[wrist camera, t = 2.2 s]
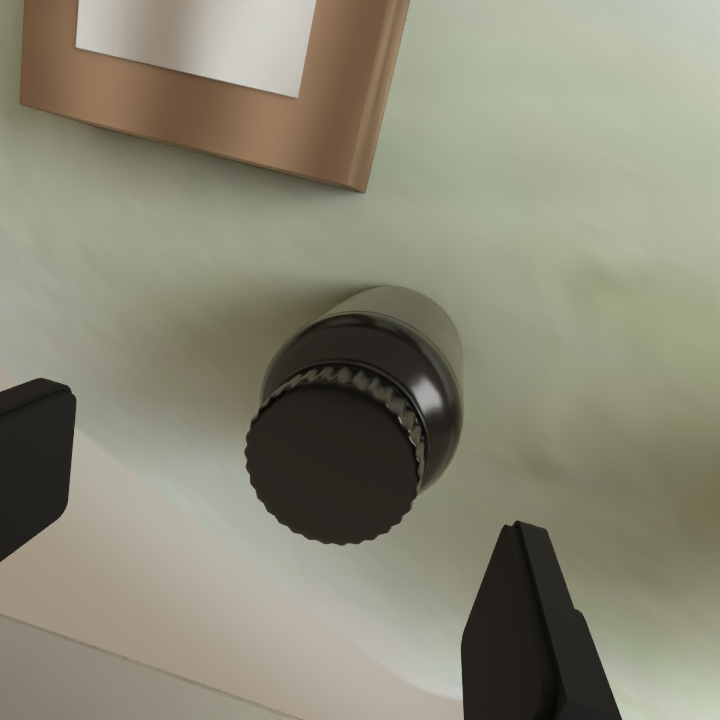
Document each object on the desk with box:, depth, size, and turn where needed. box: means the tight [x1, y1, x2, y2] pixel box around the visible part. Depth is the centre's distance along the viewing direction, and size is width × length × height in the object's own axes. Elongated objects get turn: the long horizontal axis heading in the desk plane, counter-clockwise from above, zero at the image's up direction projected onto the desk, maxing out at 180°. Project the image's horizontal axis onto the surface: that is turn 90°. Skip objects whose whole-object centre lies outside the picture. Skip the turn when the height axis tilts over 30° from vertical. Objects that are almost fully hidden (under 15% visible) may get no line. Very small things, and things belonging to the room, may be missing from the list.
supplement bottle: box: [244, 286, 463, 546], centre depth 19 cm, size 7×7×12 cm
